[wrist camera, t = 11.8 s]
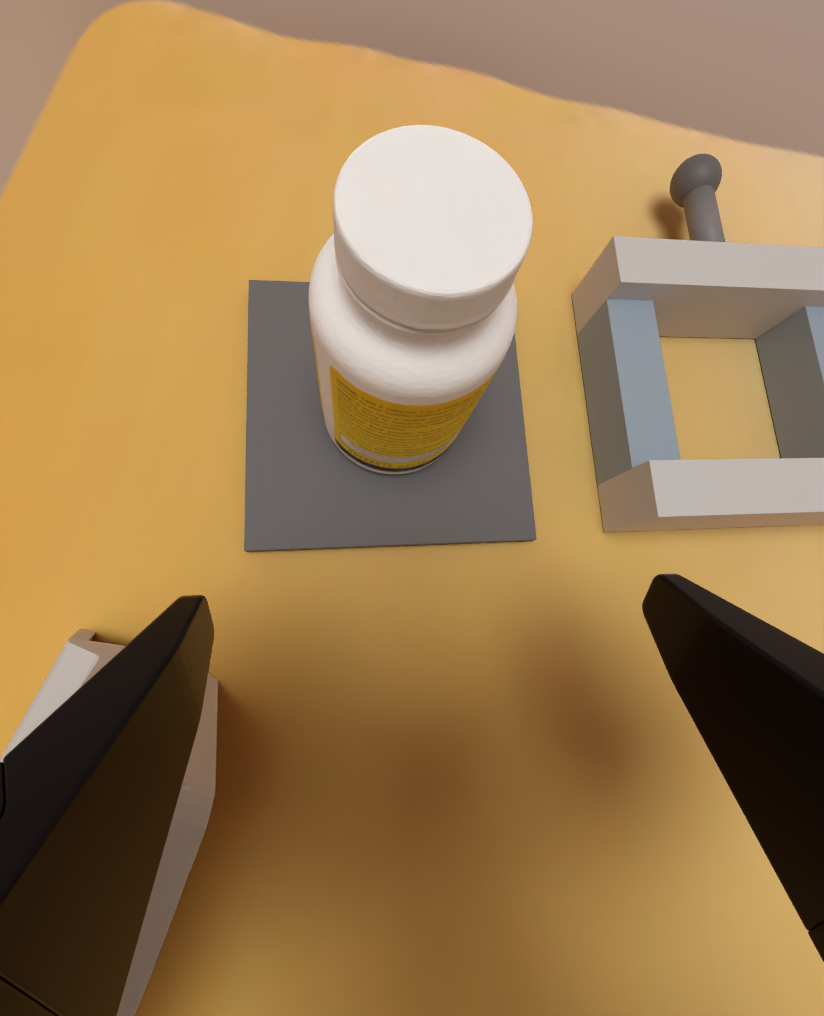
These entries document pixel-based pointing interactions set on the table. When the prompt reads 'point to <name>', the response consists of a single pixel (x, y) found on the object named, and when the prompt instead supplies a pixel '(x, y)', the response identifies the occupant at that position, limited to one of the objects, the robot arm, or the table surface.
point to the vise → (711, 314)
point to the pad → (351, 488)
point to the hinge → (189, 814)
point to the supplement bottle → (415, 292)
